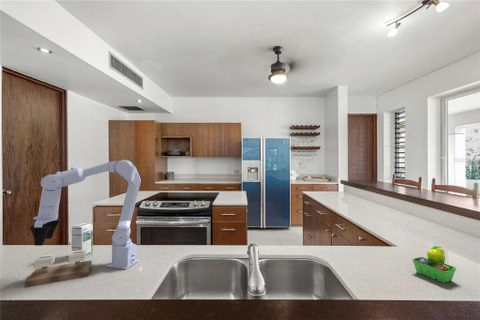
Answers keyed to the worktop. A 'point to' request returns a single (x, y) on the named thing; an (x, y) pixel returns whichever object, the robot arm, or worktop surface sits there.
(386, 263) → the worktop surface
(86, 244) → the syrup box
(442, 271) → the fruit basket
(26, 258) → the worktop surface
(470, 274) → the worktop surface
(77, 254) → the white square block
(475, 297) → the worktop surface
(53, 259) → the knob outer
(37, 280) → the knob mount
